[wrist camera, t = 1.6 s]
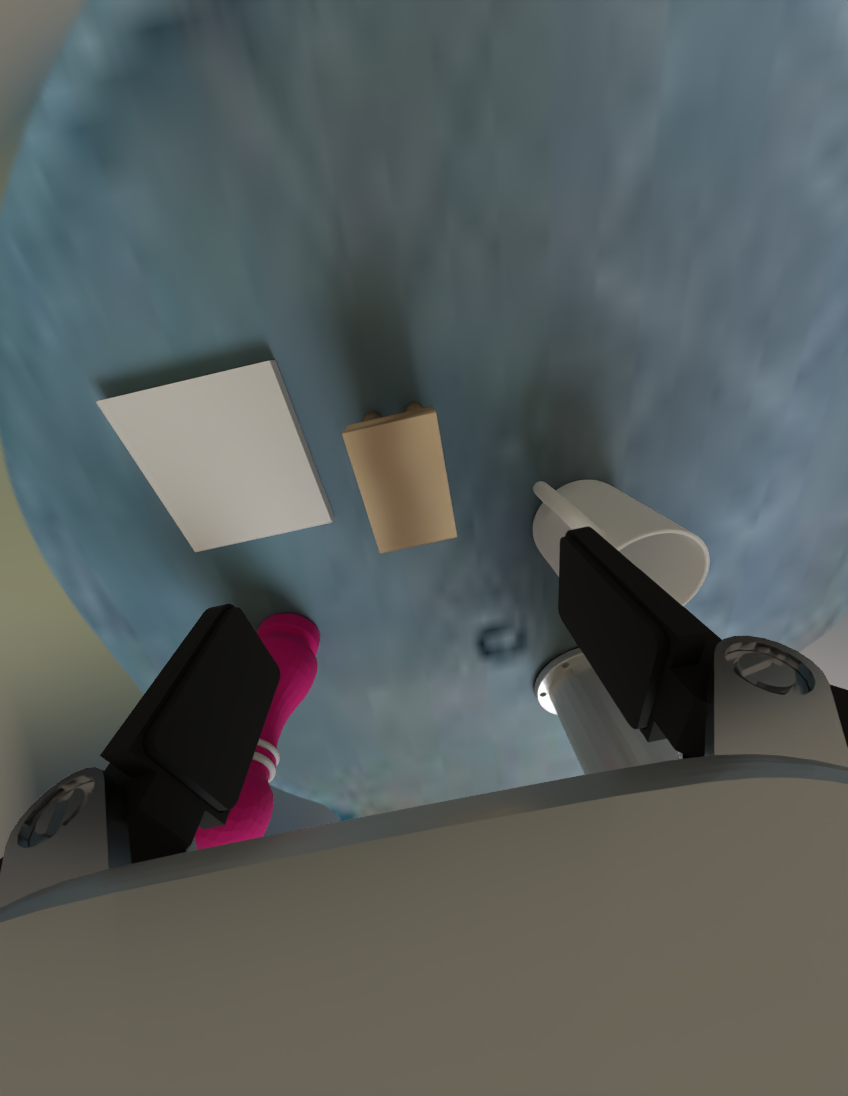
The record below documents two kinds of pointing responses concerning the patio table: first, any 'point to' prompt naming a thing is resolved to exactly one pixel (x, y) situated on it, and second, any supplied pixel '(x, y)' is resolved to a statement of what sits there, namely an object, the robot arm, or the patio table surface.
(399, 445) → the pegged wooden block
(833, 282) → the patio table surface
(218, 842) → the pepper mill
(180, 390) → the tile
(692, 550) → the cup
